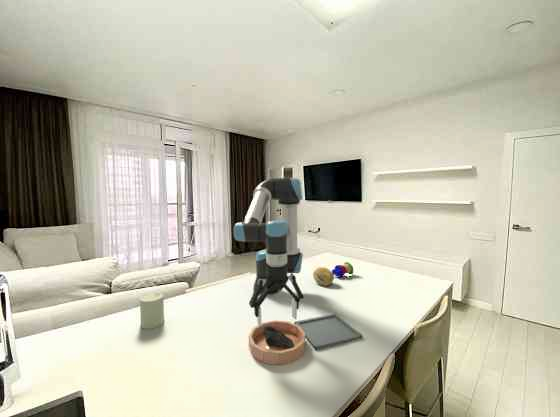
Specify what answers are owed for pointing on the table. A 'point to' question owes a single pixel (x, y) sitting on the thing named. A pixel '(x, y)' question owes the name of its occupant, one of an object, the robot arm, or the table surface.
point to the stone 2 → (323, 276)
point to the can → (152, 310)
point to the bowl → (275, 353)
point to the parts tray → (327, 331)
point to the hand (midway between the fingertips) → (277, 321)
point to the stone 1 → (277, 338)
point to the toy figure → (343, 269)
